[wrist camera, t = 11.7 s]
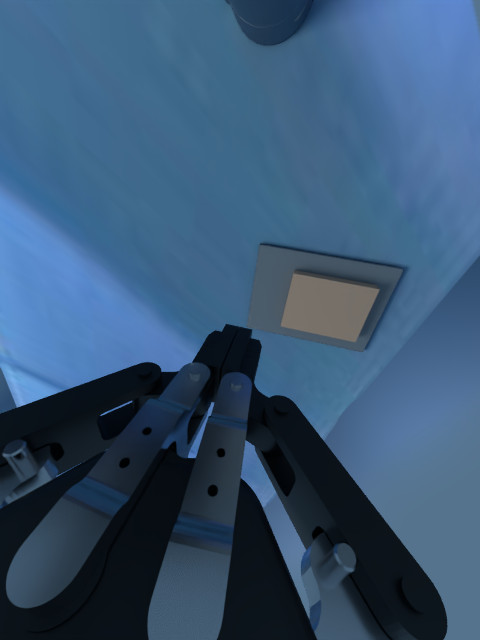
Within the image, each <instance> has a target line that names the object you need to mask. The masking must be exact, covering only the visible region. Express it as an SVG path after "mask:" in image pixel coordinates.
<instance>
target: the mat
mask: <svg viewBox="0 0 480 640" xmlns="http://www.w3.org/2000/svg"><path fill="white" fill-rule="evenodd" d="M294 270H297V271H303V272H308V273H313V274H319V275H324V276H330V277H335V278H341V279H346V280H352V281H357V282H363V283H368V284H374V285H377V286H378V288H379V289H380V290H379V292H378V294H377V297H376V299H375V301H374V303H373V305H372V307H371V310H370V312H369V314H368V316H367V318H366V320H365V323H364V325H363V327H362V329H361V331H360V333H359V336H358V338H357V340H356V342H352V341H347V340H342V339H338V338H333V337H328V336H324V335H319V334H314V333H310V332H305V331H300V330H296V329H291V328H286V327H282V326H281V321H282V317H283V313H284V308H285V304H286V300H287V296H288V292H289V288H290V284H291V280H292V276H293V271H294ZM403 270H404V269H402V268H399V267H393V266H387V265H382V264H376V263H370V262H364V261H358V260H353V259H347V258H341V257H335V256H329V255H324V254H318V253H312V252H306V251H300V250H295V249H289V248H283V247H277V246H271V245H265V244H260V246H259V252H258V259H257V265H256V271H255V278H254V284H253V291H252V297H251V303H250V310H249V316H248V323H247V327H249V328H254V329H258V330H263V331H267V332H272V333H276V334H281V335H286V336H290V337H295V338H299V339H304V340H308V341H313V342H318V343H322V344H327V345H331V346H336V347H340V348H345V349H350V350H354V351H359V352H363V351H364V349H365V347H366V345H367V343H368V341H369V339H370V337H371V335H372V333H373V331H374V329H375V327H376V325H377V323H378V321H379V319H380V317H381V315H382V313H383V311H384V309H385V307H386V304H387V302H388V300H389V298H390V296H391V294H392V292H393V290H394V288H395V286H396V284H397V282H398V280H399V278H400V276H401V274H402V272H403Z"/></svg>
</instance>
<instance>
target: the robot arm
mask: <svg viewBox="0 0 480 640" xmlns="http://www.w3.org/2000/svg"><path fill="white" fill-rule="evenodd" d="M225 1H226V2H227V3H228V4H230V5H231V6H232V9H233V11H234V14H235V16H236V19H237V21H238V23H239V25H240V27H241V29H242V31H243V32H244V33H245V34H246V35H247V37H248V38H249V39H251V40H252V41H254V42H255V43H257V44H261V45H264V46H265V45H275V44H278V43H281V42H283V41H284V40H286V39H287V38H289V37H290V36H291V35H292V34H293V33H294V32H295V31H296V30H297V29H298V28H299V26H300V25H301V23H302V22H303V21H304V19H305V17H306V15H307V13H308V11H309V9H310V7H311V4H312V1H313V0H225ZM251 335H252V329H248V328H243V327H238V326H234V325H229V324H226V325H225V327H224V329H223V331H222V332H220V331H216V330H215V331H214V332H212V333H211V334H209V335H208V337H207V338H206V340H205V342H204V343H203V345H202V347H201V348H200V350H199V352H198V353H197V355H196V357H195V358H194V360H193V362H192V363H189V364H186V365H185V366H183V367H182V368H181V369H180V371H177V372H161V368H160V367H159V365H157V364H155V363H151V362H144V363H140V364H137V365H134V366H132V367H129V368H126V369H123V370H120V371H118V372H115V373H112V374H109V375H107V376H104V377H101V378H98V379H95V380H93V381H90V382H87V383H84V384H82V385H79V386H76V387H73V388H70V389H68V390H65V391H62V392H59V393H57V394H54V395H51V396H48V397H46V398H43V399H40V400H37V401H34V402H32V403H29V404H26V405H23V406H21V407H18V408H15V409H12V410H10V411H7V412H4V413H1V414H0V640H443V639H444V638H445V635H446V633H447V616H446V611H445V608H444V605H443V602H442V600H441V597H440V595H439V593H438V591H437V589H436V588H435V586H434V584H433V583H432V582H431V580H430V579H429V577H428V576H427V575H426V573H425V572H424V571H423V569H422V568H421V567H420V566H419V564H418V563H417V562H416V560H415V559H414V558H413V556H412V555H411V554H410V552H409V551H408V550H407V549H406V547H405V546H404V545H403V544H402V542H401V541H400V539H399V538H398V537H397V536H396V534H395V533H394V532H393V530H392V529H391V528H390V527H389V525H388V524H387V523H386V522H385V520H384V519H383V517H382V516H381V515H380V514H379V512H378V511H377V510H376V508H375V507H374V506H373V504H372V503H371V502H370V501H369V500H368V498H367V497H366V495H365V494H364V493H363V491H362V490H361V489H360V488H359V486H358V485H357V484H356V483H355V481H354V480H353V478H352V477H351V476H350V475H349V473H348V472H347V471H346V469H345V468H344V467H343V466H342V464H341V463H340V462H339V460H338V459H337V458H336V456H335V455H334V454H333V453H332V451H331V450H330V449H329V447H328V446H327V445H326V443H325V442H324V441H323V439H322V438H321V437H320V436H319V434H318V433H317V432H316V430H315V429H314V428H313V426H312V425H311V424H310V423H309V421H308V420H307V419H306V417H305V416H304V415H303V413H302V412H301V411H300V410H299V408H298V407H297V406H296V404H295V403H294V402H293V401H292V400H290V399H289V398H287V397H284V396H280V395H276V396H272V397H270V398H268V397H267V396H265V395H263V394H262V393H260V392H259V391H258V390H257V388H256V387H255V384H254V380H255V376H256V371H257V367H258V362H259V358H260V353H261V348H262V346H261V343H260V341H259V340H256V339H252V338H251ZM129 401H132V403H130V404H127V405H125V406H123V407H121V408H118V409H116V410H114V411H112V412H109V413H107V414H105V415H102V416H100V415H101V414H103V413H105V412H107V411H109V410H111V409H114V408H116V407H118V406H120V405H123V404H125V403H127V402H129ZM211 402H214V407H213V410H212V414H211V416H209V417H208V420H207V423H206V426H205V430H204V433H203V436H202V440H201V443H200V446H199V450H198V453H197V456H196V458H188V454H189V451H190V449H191V447H192V445H193V443H194V441H195V439H196V437H197V435H198V433H199V431H200V429H201V427H202V425H203V423H204V421H205V419H206V417H207V414H208V409H209V407H210V405H211ZM245 440H246V441H248V442H249V443H251V444H252V445H254V446H255V451H256V453H257V455H258V457H259V459H260V461H261V463H262V465H263V467H264V469H265V471H266V473H267V475H268V477H269V479H270V480H271V482H272V484H273V486H274V488H275V490H276V492H277V494H278V496H279V498H280V500H281V502H282V504H283V505H284V508H285V510H286V512H287V514H288V515H289V517H290V519H291V521H292V523H293V525H294V527H295V529H296V531H297V533H298V535H299V537H300V539H301V541H302V543H303V545H304V547H305V548H306V552H305V553H304V555H303V557H302V561H301V576H302V581H303V584H304V587H305V590H306V593H307V596H308V600H309V607H310V618H308V616H307V613H306V611H305V608H304V606H303V604H302V601H301V599H300V596H299V594H298V592H297V589H296V587H295V585H294V582H293V580H292V577H291V575H290V573H289V570H288V568H287V565H286V563H285V561H284V558H283V556H282V553H281V551H280V549H279V546H278V544H277V541H276V539H275V536H274V534H273V532H272V529H271V527H270V525H269V522H268V520H267V517H266V515H265V513H264V510H263V508H262V505H261V503H260V501H259V499H258V498H257V496H256V494H255V493H254V491H253V490H252V489H251V487H250V486H249V485H248V484H247V483H246V482H245V481H244V480H243V479H241V470H242V463H243V455H244V447H245ZM107 449H108V450H107ZM93 456H94V457H93ZM84 461H85V462H84ZM82 462H83V463H82ZM80 463H81V464H80ZM78 464H79V465H78ZM76 465H77V466H76ZM74 466H76V467H74ZM73 467H74V468H73ZM71 468H72V469H71ZM69 469H70V470H69ZM67 470H68V471H67ZM65 471H67V472H65ZM63 472H65V473H63ZM61 473H63V474H61ZM59 474H61V475H60V476H58V477H56V476H57V475H59Z"/></svg>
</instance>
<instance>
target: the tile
mask: <svg viewBox="0 0 480 640" xmlns="http://www.w3.org/2000/svg"><path fill="white" fill-rule="evenodd" d="M379 290H380V289H379V288H378V286H377V285H374V284H368V283H363V282H357V281H352V280H346V279H341V278H335V277H330V276H324V275H319V274H313V273H308V272H303V271H297V270H294V271H293V276H292V280H291V284H290V288H289V292H288V296H287V300H286V304H285V308H284V313H283V317H282V321H281V326H282V327H286V328H291V329H296V330H300V331H305V332H310V333H314V334H319V335H324V336H328V337H333V338H338V339H342V340H347V341H352V342H356V340H357V338H358V336H359V333H360V331H361V329H362V327H363V325H364V323H365V320H366V318H367V316H368V314H369V312H370V310H371V307H372V305H373V303H374V301H375V299H376V297H377V294H378V292H379Z"/></svg>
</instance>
